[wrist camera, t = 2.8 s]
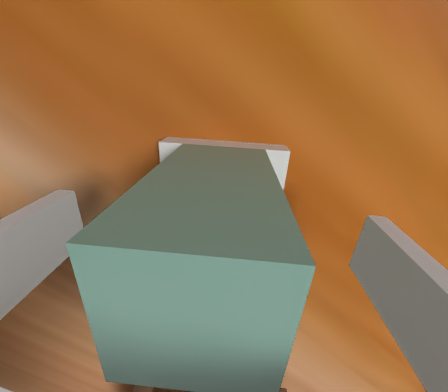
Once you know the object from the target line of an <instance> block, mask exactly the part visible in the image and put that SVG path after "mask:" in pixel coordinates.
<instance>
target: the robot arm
mask: <svg viewBox="0 0 448 392" xmlns="http://www.w3.org/2000/svg"><path fill="white" fill-rule="evenodd" d="M83 228H84V227H83V223H82V219H81V215H80V211H79V207H78V203H77V199H76V195H75V191H73V190H61V189H58V190H56V191H54V192H52V193H50V194H48V195H46V196H44V197H42V198H40V199H38V200H37V201H35V202H33V203H31V204H29V205H27V206H25V207H23V208H21V209H19V210H17V211H15V212H13V213H11V214H9V215H7V216H5V217H3V218H2V219H0V320H1V319H2V318H3V317H4V316H5V315H6V314H7V313H8V312H10V311H11V310H12V309H13V308H14V307H15V306H16V305H17V304H18V303H19V302H20V301H21V300H22V299H24V298H25V297H26V296H27V295H28V294H29V293H30V292H31V291H32V290H33V289H34V288H35V287H36V286H38V285H39V284H40V283H41V282H42V281H43V280H44V279H45V278H46V277H47V276H48V275H49V274H50V273H52V272H53V271H54V270H55V269H56V268H57V267H58V266H59V265H60V264H61V263H62V262H63V261H64V260H66V259H67V258H68V257H69V254H68V250H67V247H66V244H65V243H66V242H67V241H68V240H70V239H71V238H72V237H73V236H74V235H75V234H77V233H78V232H79V231H80V230H81V229H83ZM349 266H350V267H351V269H352V271H353V272H354V274H355V276H356V277H357V279H358V280H359V282H360V284H361V285H362V287H363V289H364V290H365V292H366V294H367V295H368V297H369V298H370V300H371V302H372V303H373V305H374V307H375V308H376V310H377V311H378V313H379V315H380V316H381V318H382V320H383V321H384V323H385V324H386V326H387V328H388V329H389V331H390V333H391V334H392V336H393V338H394V339H395V341H396V342H397V344H398V346H399V347H400V349H401V351H402V352H403V354H404V355H405V357H406V359H407V360H408V362H409V364H410V365H411V367H412V369H413V370H414V372H415V373H416V375H417V377H418V378H419V380H420V382H421V383H422V385H423V386H424V388H425V390H426V391H427V392H448V270H447V269H446V268H444V267H443V266H442V265H441V264H440V263H439V262H437V261H436V260H435V259H434V258H433V257H432V256H431V255H429V254H428V253H427V252H426V251H425V250H424V249H422V248H421V247H420V246H419V245H418V244H417V243H416V242H414V241H413V240H412V239H411V238H410V237H409V236H407V235H406V234H405V233H404V232H403V231H402V230H401V229H399V228H398V227H397V226H396V225H395V224H394V223H392V222H391V221H390V220H389V219H388V218H387V217H383V216H371V215H367V218H366V220H365V223H364V226H363V228H362V231H361V234H360V237H359V239H358V242H357V245H356V247H355V250H354V253H353V255H352V258H351V261H350V264H349Z"/></svg>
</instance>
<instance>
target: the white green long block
mask: <svg viewBox="0 0 448 392" xmlns="http://www.w3.org/2000/svg"><path fill="white" fill-rule="evenodd" d="M159 155H160V163H159V164H158V165H157V166H156V167H155V168H153V169H152V170H151V171H150V172H149V173H148V174H146V175H145V176H144V177H143V178H142V179H140V180H139V181H138V182H137V183H136V184H135V185H133V186H132V187H131V188H130V189H129V190H127V191H126V192H125V193H124V194H123V195H122V196H120V197H119V198H118V199H117V200H116V201H114V202H113V203H112V204H111V205H110V206H109V207H107V208H106V209H105V210H104V211H103V212H101V213H100V214H99V215H98V216H97V217H96V218H94V219H93V220H92V221H91V222H90V223H88V224H87V225H86V226H85V227H84V228H83V229H81V230H80V231H79V232H78V233H77V234H75V235H74V236H73V237H72V238H71V239H70V240H68V241H67V242H66V243H65V244H66V247H67V250H68V254H69V257H70V261H71V264H72V267H73V271H74V274H75V278H76V281H77V284H78V288H79V291H80V295H81V298H82V301H83V305H84V308H85V312H86V315H87V318H88V322H89V325H90V329H91V332H92V335H93V339H94V342H95V346H96V349H97V352H98V356H99V359H100V363H101V366H102V369H103V373H104V376H105V380H106V382H114V383H123V384H131V385H140V386H148V387H157V388H166V389H174V390H183V391H191V392H279V390H280V387H281V383H282V380H283V376H284V373H285V370H286V366H287V363H288V359H289V356H290V353H291V349H292V346H293V342H294V339H295V336H296V332H297V329H298V325H299V322H300V319H301V315H302V312H303V309H304V305H305V302H306V298H307V295H308V292H309V288H310V285H311V281H312V278H313V275H314V271H315V268H316V265H315V263H314V260H313V258H312V256H311V253H310V251H309V249H308V247H307V244H306V242H305V240H304V237H303V235H302V233H301V230H300V228H299V226H298V224H297V221H296V219H295V217H294V214H293V212H292V210H291V207H290V205H289V203H288V201H287V198H286V196H285V194H284V191H283V190H284V184H285V179H286V173H287V168H288V162H289V157H290V150H289V149H288V148H287V147H286V146H285V145H276V144H262V143H248V142H234V141H219V140H205V139H191V138H177V137H166V138H164V139H163V140H161V141H159Z"/></svg>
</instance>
